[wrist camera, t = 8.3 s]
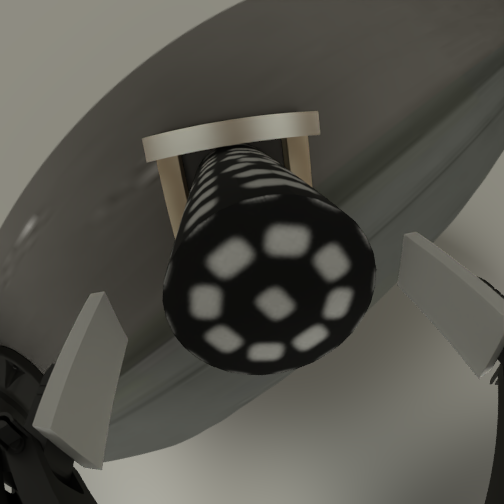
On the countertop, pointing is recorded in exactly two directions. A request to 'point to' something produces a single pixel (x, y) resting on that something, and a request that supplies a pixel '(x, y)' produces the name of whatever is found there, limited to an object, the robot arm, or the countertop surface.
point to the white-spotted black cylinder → (264, 267)
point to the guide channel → (224, 134)
